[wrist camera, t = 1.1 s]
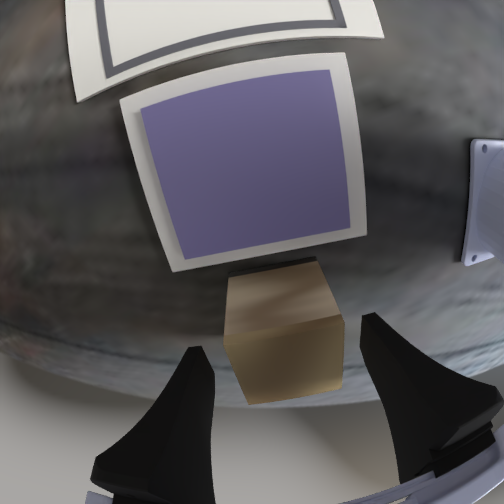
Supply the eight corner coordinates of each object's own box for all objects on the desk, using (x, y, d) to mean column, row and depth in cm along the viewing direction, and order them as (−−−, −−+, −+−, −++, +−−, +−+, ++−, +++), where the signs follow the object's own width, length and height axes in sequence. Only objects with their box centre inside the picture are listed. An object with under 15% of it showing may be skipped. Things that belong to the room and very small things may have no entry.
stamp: (315, 256, 14) (344, 322, 9) (320, 320, 16) (341, 388, 11) (229, 272, 14) (222, 345, 10) (247, 333, 16) (248, 404, 12)
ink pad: (335, 58, 9) (350, 49, 8) (357, 224, 13) (372, 240, 11) (130, 100, 10) (112, 99, 8) (177, 259, 13) (169, 279, 12)
